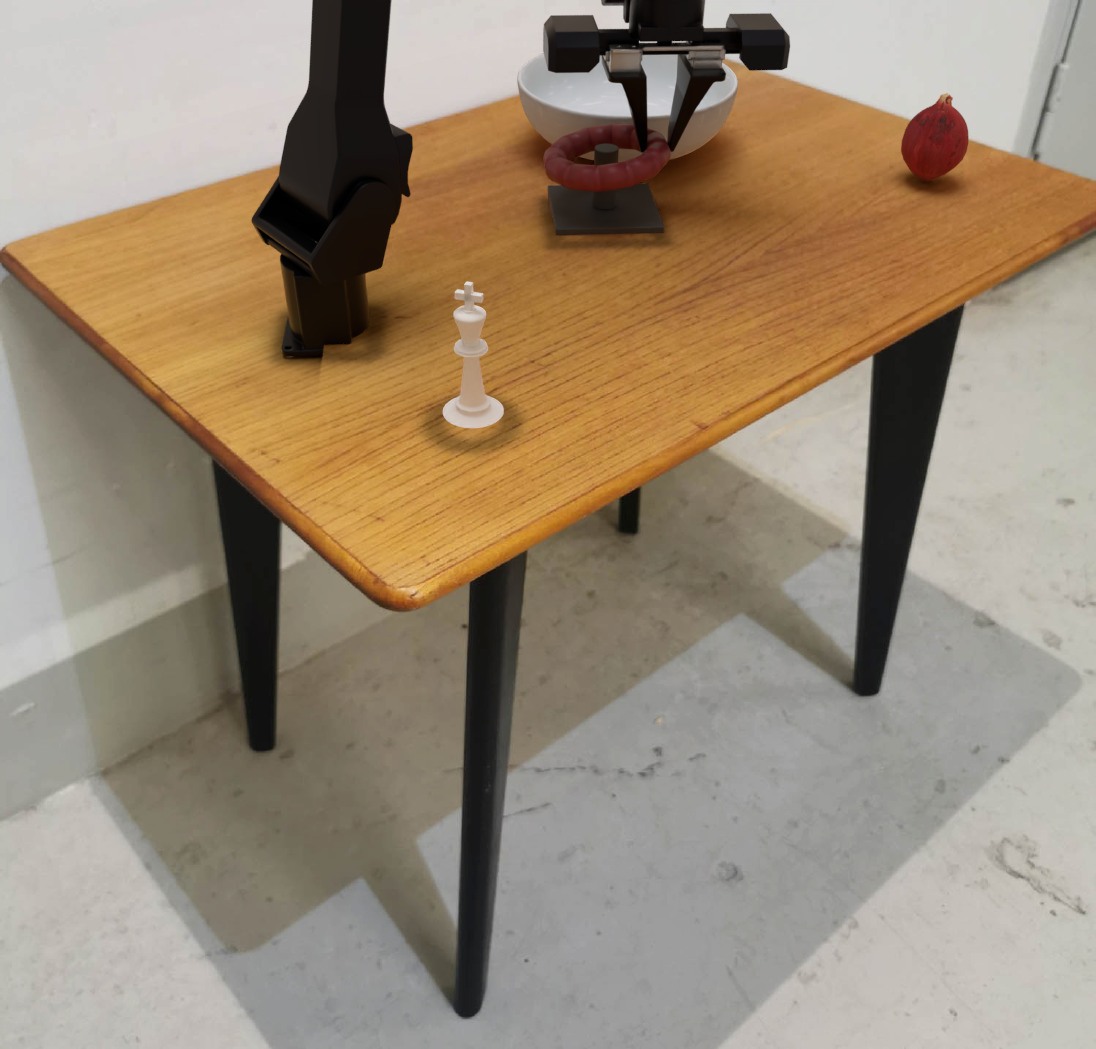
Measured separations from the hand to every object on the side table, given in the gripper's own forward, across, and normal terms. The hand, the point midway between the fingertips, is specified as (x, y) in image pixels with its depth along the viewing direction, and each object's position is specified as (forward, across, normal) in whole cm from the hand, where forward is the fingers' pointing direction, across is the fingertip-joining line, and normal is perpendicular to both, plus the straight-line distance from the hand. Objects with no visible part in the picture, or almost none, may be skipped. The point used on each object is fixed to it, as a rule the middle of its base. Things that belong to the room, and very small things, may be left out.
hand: (656, 150), depth 93 cm
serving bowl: (+6, 0, -17) cm, 18 cm away
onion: (+6, -27, -7) cm, 28 cm away
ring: (0, +4, 0) cm, 4 cm away
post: (+6, +4, 0) cm, 7 cm away
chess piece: (+6, +16, +30) cm, 35 cm away
